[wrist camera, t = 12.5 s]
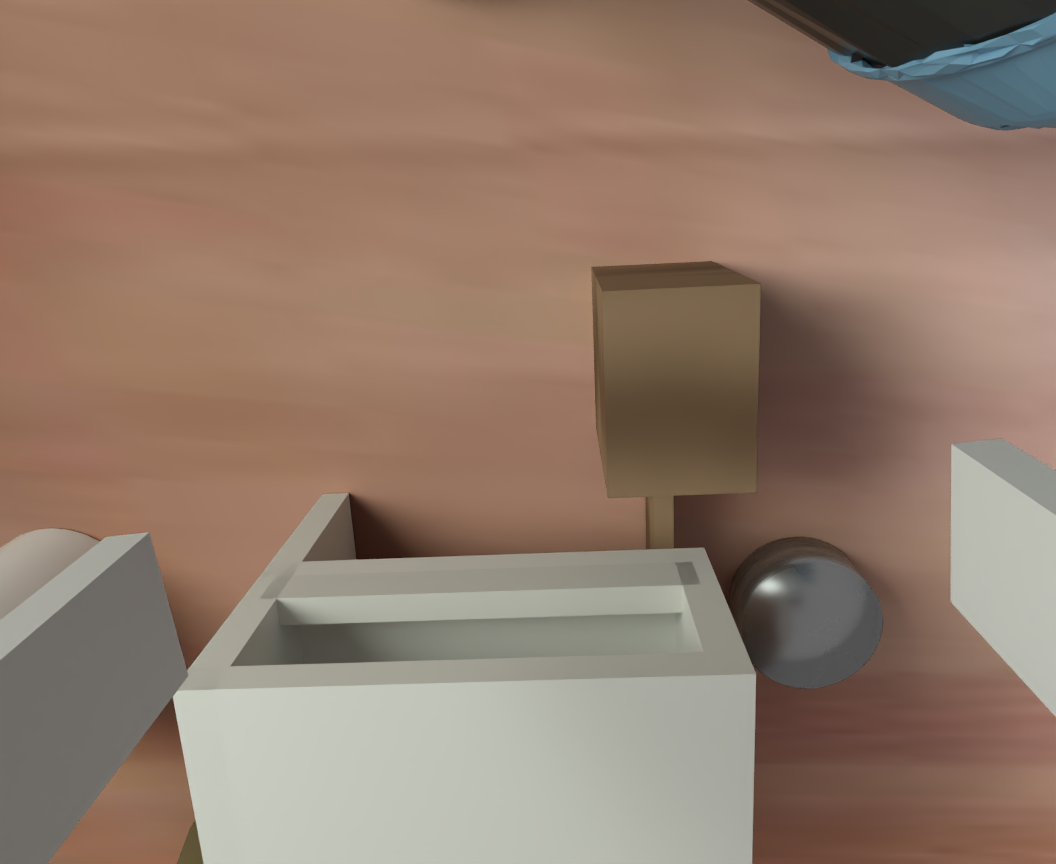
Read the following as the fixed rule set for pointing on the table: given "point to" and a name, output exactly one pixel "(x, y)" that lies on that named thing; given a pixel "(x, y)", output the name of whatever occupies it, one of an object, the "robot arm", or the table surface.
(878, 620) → the shiny grey metal dome
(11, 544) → the pill bottle
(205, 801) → the shelf cabinet
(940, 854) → the table surface
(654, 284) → the tan block on stick
